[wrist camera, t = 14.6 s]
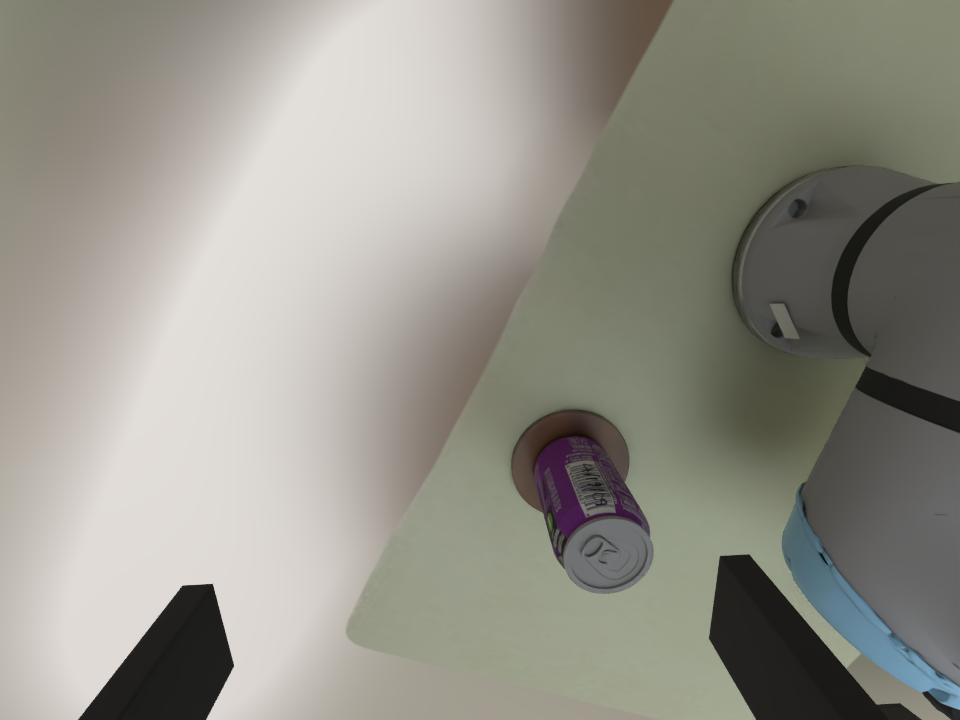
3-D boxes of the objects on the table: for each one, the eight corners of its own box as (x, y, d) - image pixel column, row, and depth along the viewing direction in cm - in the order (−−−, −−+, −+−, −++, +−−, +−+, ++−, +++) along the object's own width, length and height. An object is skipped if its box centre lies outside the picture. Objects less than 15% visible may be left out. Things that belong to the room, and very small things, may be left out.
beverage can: (517, 477, 43) (536, 570, 31) (562, 418, 41) (600, 494, 30) (577, 512, 44) (616, 614, 33) (623, 456, 43) (682, 544, 31)
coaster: (630, 406, 42) (632, 409, 41) (624, 510, 45) (626, 514, 44) (510, 412, 42) (510, 415, 41) (512, 516, 45) (513, 520, 44)
